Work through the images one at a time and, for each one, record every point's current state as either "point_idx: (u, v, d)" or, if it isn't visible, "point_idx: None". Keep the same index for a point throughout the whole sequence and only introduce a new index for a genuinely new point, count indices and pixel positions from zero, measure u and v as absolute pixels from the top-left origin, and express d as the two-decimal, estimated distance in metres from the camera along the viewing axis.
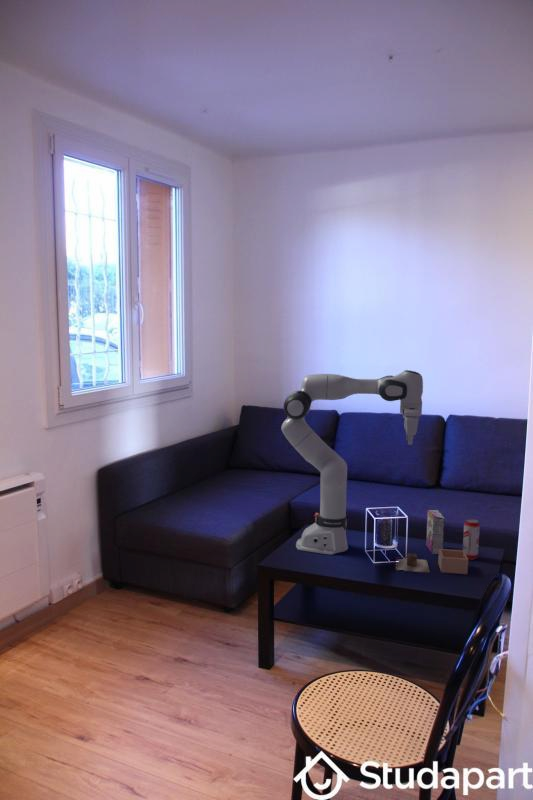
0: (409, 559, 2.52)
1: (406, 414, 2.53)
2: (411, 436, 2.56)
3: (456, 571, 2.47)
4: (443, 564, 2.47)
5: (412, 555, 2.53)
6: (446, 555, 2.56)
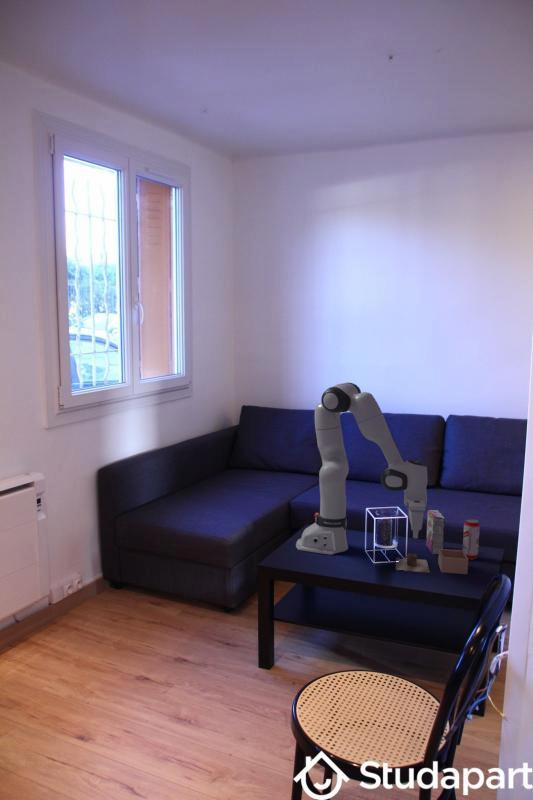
0: (409, 559, 2.52)
1: (411, 508, 2.43)
2: (416, 530, 2.46)
3: (456, 571, 2.47)
4: (443, 564, 2.47)
5: (412, 555, 2.53)
6: (446, 555, 2.56)
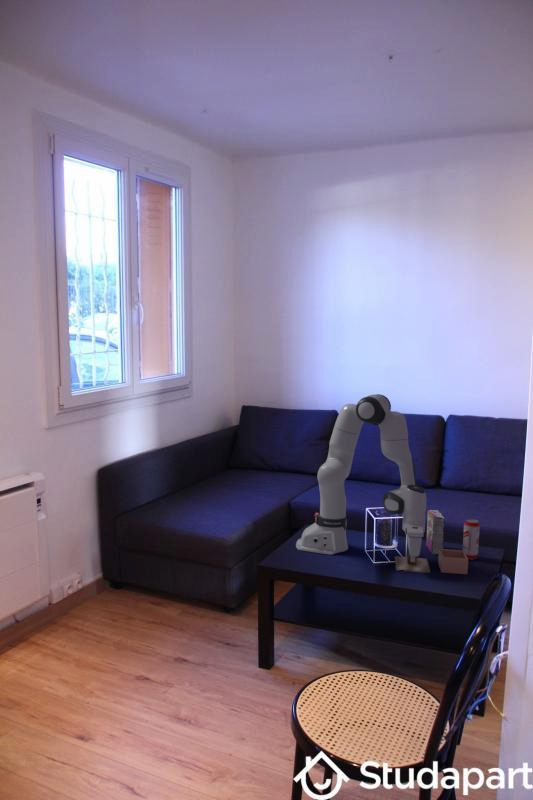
0: (409, 558, 2.52)
1: (409, 534, 2.44)
2: None
3: (456, 571, 2.47)
4: (443, 564, 2.47)
5: None
6: (446, 555, 2.56)
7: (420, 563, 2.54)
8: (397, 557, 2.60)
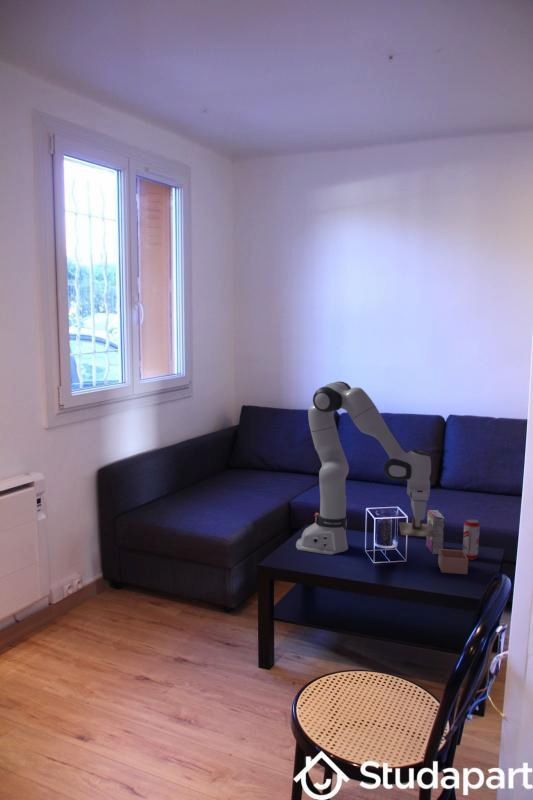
0: (414, 522, 2.50)
1: (414, 498, 2.42)
2: None
3: (456, 571, 2.47)
4: (443, 564, 2.47)
5: None
6: (446, 555, 2.56)
7: (425, 528, 2.52)
8: (402, 523, 2.58)
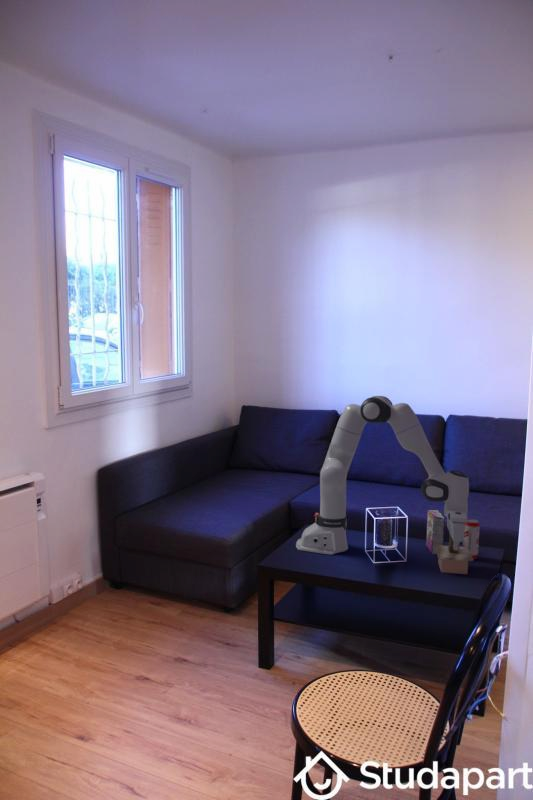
0: (451, 546, 2.49)
1: (452, 520, 2.41)
2: (457, 542, 2.44)
3: (456, 571, 2.47)
4: (443, 564, 2.47)
5: None
6: None
7: (462, 551, 2.51)
8: (437, 546, 2.57)
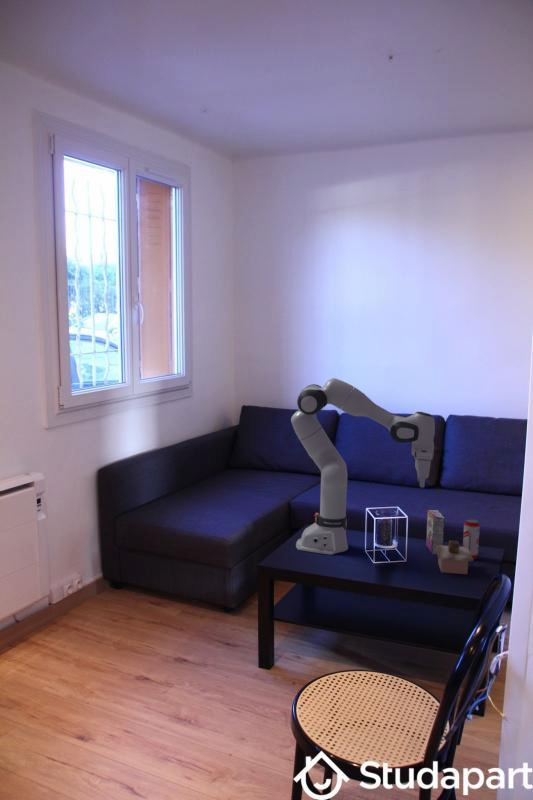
0: (451, 546, 2.49)
1: (418, 457, 2.51)
2: (423, 479, 2.54)
3: (456, 571, 2.47)
4: (443, 564, 2.47)
5: (454, 542, 2.50)
6: None
7: (462, 551, 2.51)
8: (437, 546, 2.57)
